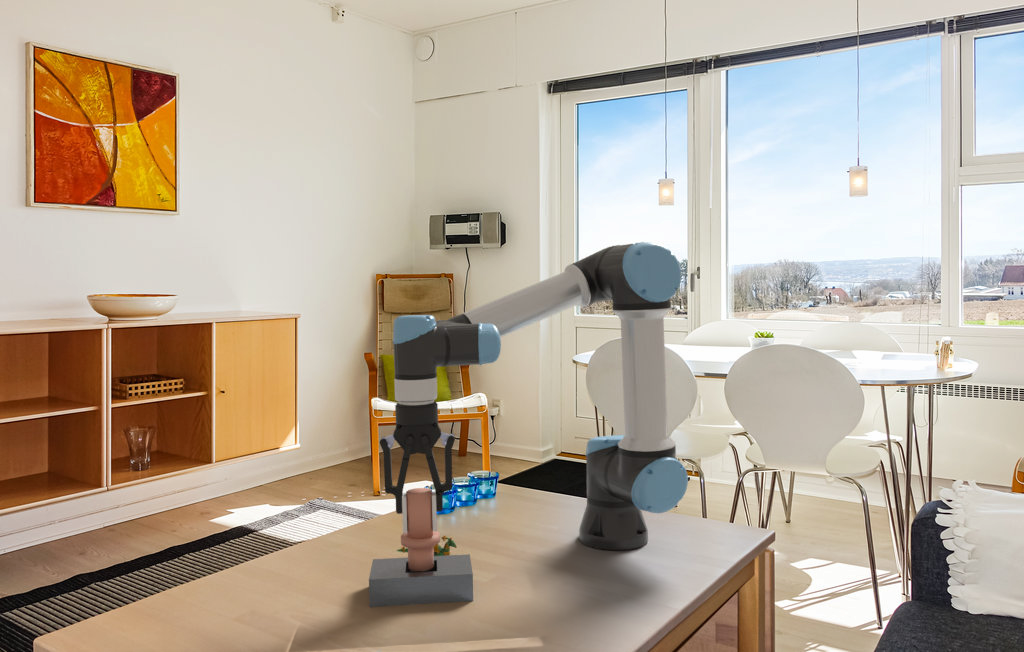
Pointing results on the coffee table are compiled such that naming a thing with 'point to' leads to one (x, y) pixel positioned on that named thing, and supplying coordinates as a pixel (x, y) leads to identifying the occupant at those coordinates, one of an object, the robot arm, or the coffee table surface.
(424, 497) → the flanged shaft
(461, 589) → the housing
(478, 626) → the coffee table surface
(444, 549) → the figurine
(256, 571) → the coffee table surface
